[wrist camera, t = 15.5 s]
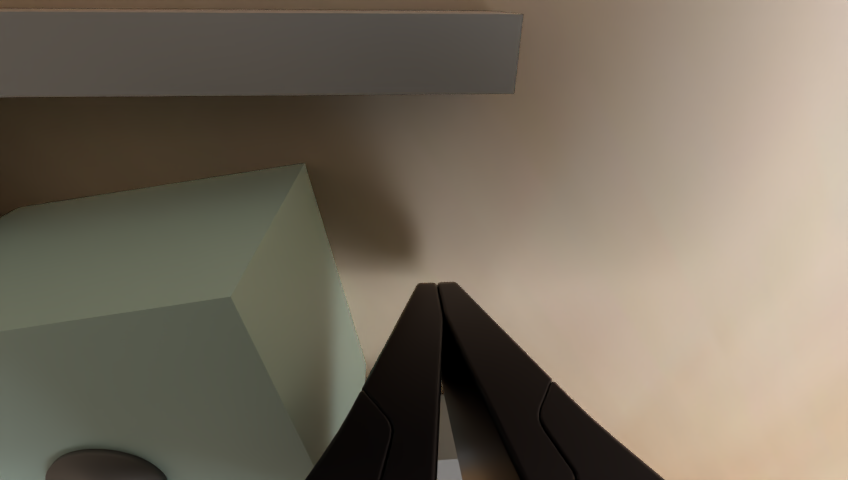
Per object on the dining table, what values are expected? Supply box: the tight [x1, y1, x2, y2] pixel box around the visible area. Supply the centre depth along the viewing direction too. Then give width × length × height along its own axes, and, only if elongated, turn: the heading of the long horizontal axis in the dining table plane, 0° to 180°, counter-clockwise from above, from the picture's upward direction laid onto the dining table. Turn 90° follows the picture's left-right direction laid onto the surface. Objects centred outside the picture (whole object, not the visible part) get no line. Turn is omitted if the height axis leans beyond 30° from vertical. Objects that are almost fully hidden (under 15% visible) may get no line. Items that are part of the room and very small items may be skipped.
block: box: [0, 163, 366, 480], centre depth 8 cm, size 6×6×5 cm
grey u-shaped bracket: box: [0, 8, 523, 480], centre depth 9 cm, size 11×11×2 cm
